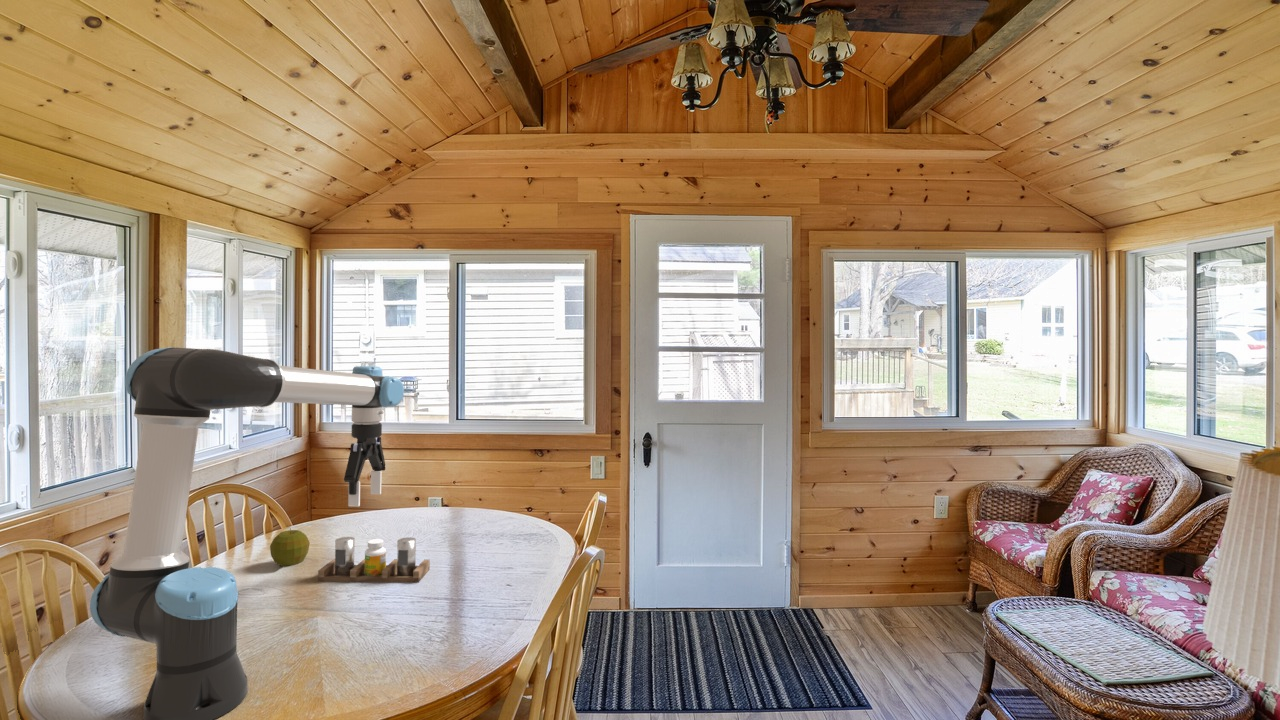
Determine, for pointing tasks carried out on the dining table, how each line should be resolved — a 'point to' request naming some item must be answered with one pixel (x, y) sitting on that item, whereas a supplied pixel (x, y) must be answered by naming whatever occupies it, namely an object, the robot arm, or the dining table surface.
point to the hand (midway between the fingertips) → (365, 500)
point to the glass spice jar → (406, 556)
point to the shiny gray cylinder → (344, 556)
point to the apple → (289, 547)
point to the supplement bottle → (375, 558)
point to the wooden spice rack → (359, 576)
